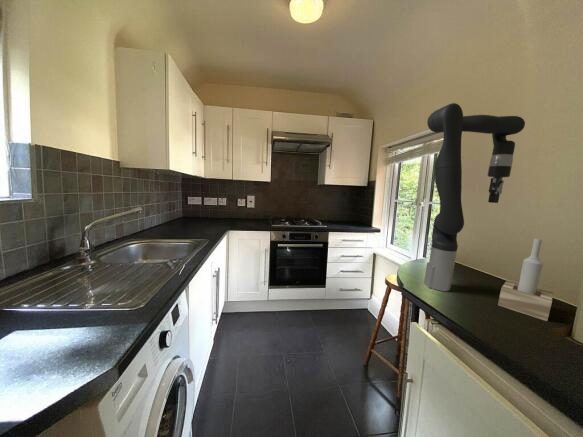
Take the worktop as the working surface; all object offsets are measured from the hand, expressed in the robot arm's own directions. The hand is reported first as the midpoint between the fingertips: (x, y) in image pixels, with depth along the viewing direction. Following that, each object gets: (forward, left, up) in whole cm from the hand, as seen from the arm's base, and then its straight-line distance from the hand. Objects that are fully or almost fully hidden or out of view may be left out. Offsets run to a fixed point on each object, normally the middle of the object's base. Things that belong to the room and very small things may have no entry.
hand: (493, 202), depth 107 cm
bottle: (+4, -22, -37) cm, 43 cm away
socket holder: (+4, -22, -38) cm, 44 cm away
